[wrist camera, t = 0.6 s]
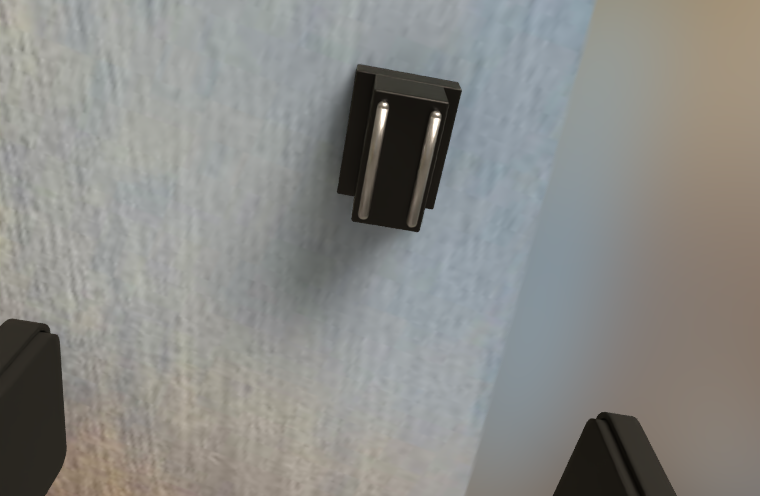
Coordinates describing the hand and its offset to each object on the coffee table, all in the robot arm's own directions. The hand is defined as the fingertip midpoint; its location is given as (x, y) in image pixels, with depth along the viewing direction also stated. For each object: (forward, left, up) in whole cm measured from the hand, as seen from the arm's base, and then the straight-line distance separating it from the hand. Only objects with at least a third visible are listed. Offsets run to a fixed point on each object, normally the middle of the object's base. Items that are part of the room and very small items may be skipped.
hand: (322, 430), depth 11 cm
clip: (-1, +1, -16) cm, 16 cm away
